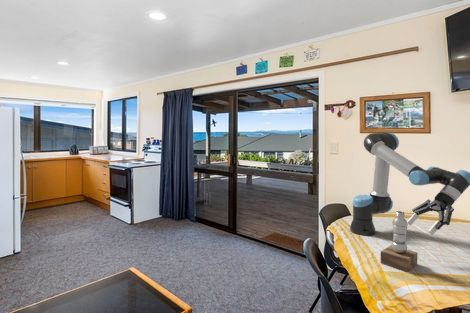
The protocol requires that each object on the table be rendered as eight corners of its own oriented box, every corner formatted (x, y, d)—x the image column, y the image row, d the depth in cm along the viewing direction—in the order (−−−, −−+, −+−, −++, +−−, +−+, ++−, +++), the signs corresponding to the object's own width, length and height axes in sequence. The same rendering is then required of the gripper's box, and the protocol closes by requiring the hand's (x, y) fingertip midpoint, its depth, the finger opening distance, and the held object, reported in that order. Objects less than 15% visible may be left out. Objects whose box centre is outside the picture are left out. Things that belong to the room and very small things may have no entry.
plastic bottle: (401, 248, 138) (402, 210, 136) (410, 254, 131) (411, 214, 130) (388, 249, 138) (389, 210, 136) (397, 255, 131) (398, 214, 129)
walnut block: (391, 256, 143) (391, 245, 143) (417, 264, 134) (417, 252, 133) (380, 263, 136) (380, 251, 136) (407, 272, 127) (407, 259, 126)
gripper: (476, 208, 124) (446, 242, 123) (430, 196, 149) (404, 225, 148) (466, 197, 123) (435, 232, 122) (422, 187, 147) (396, 216, 147)
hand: (418, 228), depth 135 cm, fingers open, 13 cm apart
